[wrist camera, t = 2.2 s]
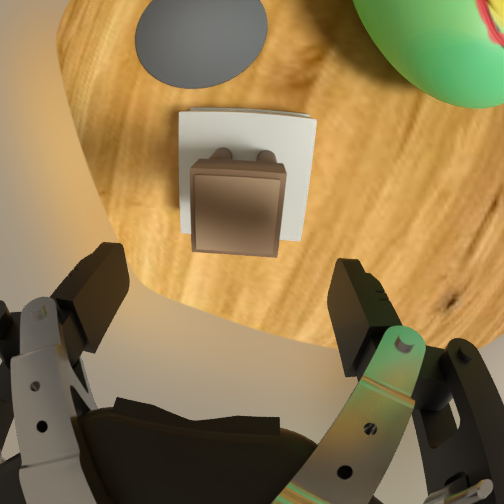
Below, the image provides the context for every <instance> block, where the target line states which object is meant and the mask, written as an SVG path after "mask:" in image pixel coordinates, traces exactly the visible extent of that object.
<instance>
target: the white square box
mask: <svg viewBox="0 0 504 504" xmlns="http://www.w3.org/2000/svg"><path fill="white" fill-rule="evenodd" d="M316 124H317V119H313V118H310V115H309V114H302V113H293V112H284V111H273V110H261V109H244V108H190V110H188V111H182V112H179V198H180V222H181V233H185V234H191V215H190V167H191V166H192V165H193V164H194V163H195V162H196V161H197V160H198V159H209V158H210V157H211V156H212V154H213V153H214V152H215V151H216V150H217V149H219V148H223V147H224V148H227V149H229V150H230V151H231V153H232V160H246V161H257V156H258V154H259V153H260V152H261V151H263V150H269V151H272V152H273V153H274V154H275V156H276V160H277V163H283V164H284V167H285V170H286V173H287V178H286V187H285V196H284V205H283V213H282V222H281V230H280V239H279V240H289V241H301V236H302V229H303V223H304V216H305V210H306V203H307V196H308V189H309V181H310V174H311V166H312V158H313V150H314V142H315V133H316Z"/></svg>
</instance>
